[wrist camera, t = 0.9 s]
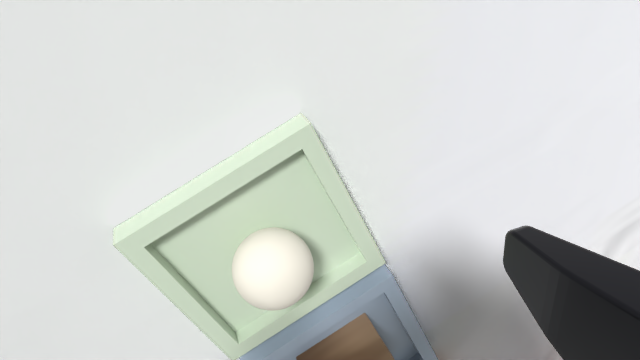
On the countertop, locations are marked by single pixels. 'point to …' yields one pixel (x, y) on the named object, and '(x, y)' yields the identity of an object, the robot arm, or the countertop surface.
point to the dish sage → (238, 223)
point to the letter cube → (350, 344)
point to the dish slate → (362, 297)
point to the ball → (272, 268)
